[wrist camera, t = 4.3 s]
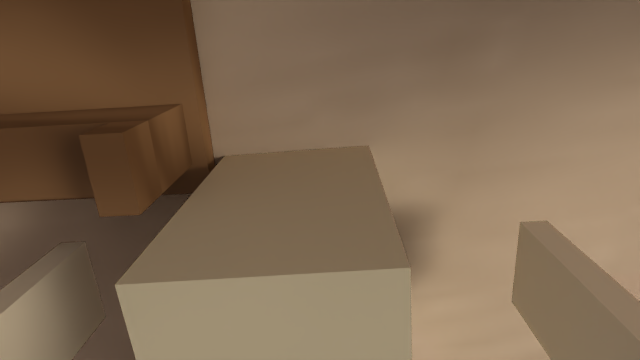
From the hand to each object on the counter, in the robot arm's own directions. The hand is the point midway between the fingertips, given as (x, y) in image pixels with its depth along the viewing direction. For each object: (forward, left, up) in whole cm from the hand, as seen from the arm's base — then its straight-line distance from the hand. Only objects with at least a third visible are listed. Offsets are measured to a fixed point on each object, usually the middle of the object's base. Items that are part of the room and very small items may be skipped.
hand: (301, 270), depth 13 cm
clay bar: (-5, 0, -3) cm, 6 cm away
